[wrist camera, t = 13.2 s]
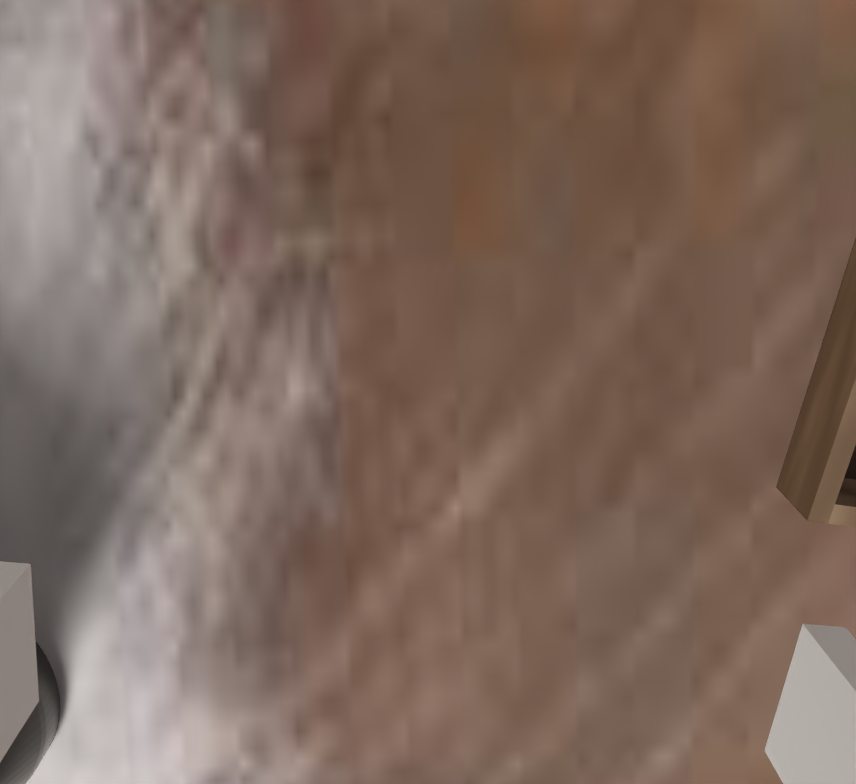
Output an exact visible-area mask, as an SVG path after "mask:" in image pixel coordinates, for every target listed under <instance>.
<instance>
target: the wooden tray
mask: <svg viewBox="0 0 856 784" xmlns="http://www.w3.org/2000/svg"><path fill="white" fill-rule="evenodd" d="M855 445H856V240H855V243H854V246H853V249H852V252H851V256H850V259H849V262H848V265H847V268H846V271H845V274H844V277H843V281H842V284H841V287H840V290H839V293H838V296H837V299H836V302H835V306H834V309H833V312H832V315H831V318H830V321H829V324H828V327H827V331H826V334H825V337H824V340H823V343H822V346H821V349H820V352H819V356H818V359H817V362H816V365H815V368H814V371H813V374H812V377H811V381H810V384H809V387H808V390H807V393H806V396H805V399H804V402H803V406H802V409H801V412H800V415H799V418H798V421H797V424H796V427H795V431H794V434H793V437H792V440H791V443H790V446H789V449H788V452H787V456H786V459H785V462H784V465H783V468H782V471H781V474H780V477H779V481H778V484H777V489H778V490H779V491H780V492H781V493H782V494H783V495H784V496H785V497H786V498H787V499H788V500H789V501H790V503H791V504H792V505H793V506H794V507H795V508H796V509H797V510H798V511H799V512H800V513H801V514H802V515H803V517H804V518H805V519H806V520H807V521H814V522H821V523H829V524H836V525H844V526H851V527H856V479H849V478H844V477H845V474H846V471H847V468H848V465H849V462H850V460H851V457H852V454H853V451H854V448H855Z"/></svg>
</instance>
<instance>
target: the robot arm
mask: <svg viewBox="0 0 856 784" xmlns="http://www.w3.org/2000/svg"><path fill="white" fill-rule="evenodd" d="M59 715H60V698H59V691H58V686H57V682H56V679H55V676H54V673H53V670H52V668H51V666H50V663H49V661H48V660H47V658H46V656H45V654H44V653H43V651H42V649H41V648H40V646H39V645H38V644H37V642H36V641H35V625H34V608H33V591H32V574H31V564H29V563H16V562H3V561H0V784H26V782H27V781H28V780H29V779H30V777H31V776H32V775H33V773H34V771H35V770H36V768H37V766H38V765H39V763H40V761H41V760H42V758H43V756H44V755H45V753H46V751H47V750H48V748H49V746H50V745H51V743H52V741H53V738H54V736H55V733H56V730H57V726H58V722H59ZM765 752H766V754H767V756H768V758H769V759H770V761H771V763H772V765H773V766H774V768H775V770H776V772H777V773H778V775H779V777H780V779H781V780H782V782H783V784H856V639H855V638H854V637H853V636H852V635H851V634H850V632H849V631H848V630H847V629H846V628H845V627H834V626H821V625H809V624H803V625H802V628H801V632H800V635H799V638H798V641H797V645H796V648H795V651H794V655H793V658H792V661H791V665H790V668H789V671H788V675H787V678H786V681H785V685H784V688H783V691H782V695H781V698H780V701H779V704H778V708H777V711H776V714H775V718H774V721H773V724H772V728H771V731H770V734H769V738H768V741H767V744H766V748H765Z"/></svg>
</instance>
